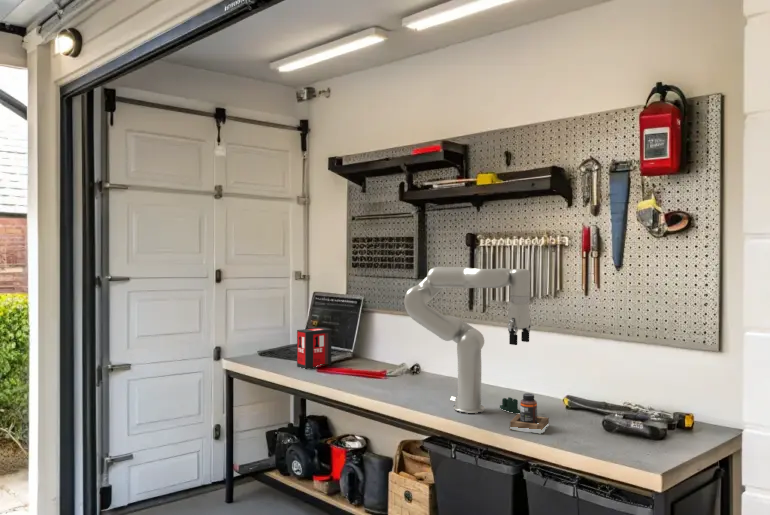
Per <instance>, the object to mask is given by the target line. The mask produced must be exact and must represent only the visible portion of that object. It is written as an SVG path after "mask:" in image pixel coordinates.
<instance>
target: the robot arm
mask: <svg viewBox="0 0 770 515" xmlns="http://www.w3.org/2000/svg"><path fill="white" fill-rule="evenodd" d="M530 285H531V273H530V270H529V269H527V268H513V269H511V268H506V267H499V268H498V267H497V268H472V267H469V266H435V267H432V268H430V269H429V270H428V271H427V275H426V277H424V279H423V280H422V281H420V283H418V284H417V285H415V286H411V287H410V288H408V290H407V291H406V293H405V294H404V295H405V296H404V300H403V301H404V308H405V311H406V313H407V314H408V316H409V317H410V318H411V319H412V320H413V321H415V322H416V323H417V324H418V325H420V326H422V327H424V328H425V329H426V330H427V331H429V332H431V333H432V334H433V335H435V336H437V337H438V338H440V339H441V340H442V341H445V342H450V341H452V342H454V343H455V344H456V352H457V353H456V355H457V396H454V395H452V396H451V397H450V399H449V400H450V401H449V402H450V403H454V406H453V410H454V409H455V410H457V411H462V412H468V413H475V414H479V413H478V412H481V413H484V412H485V411H486V406H484V405H482V349H483V347H484V346H485V337H484V334H482V332H480V331H479V330H478V329H476V328H475V327H473V326H472V325H470V324H469V323H468V322H465V321H464V320H462V319H460V318H459V317H456V316H454V315H447V316H446V315H444V314H442V313H441V312H439V311H437V310H436V309H434V308H433V307H431V306H429V305H428V304H427V303H429V302H430V301H432V299H433V298H434V297H435V296H437V295H438V294H439V293H440V292H441V291H442V290H443V289H444V288H446V289H448V288H449V289H450V288H452V289H453V288H456V289H457V288H458V289H473V288H474V289H475V288H476V289H502V288H504V287H509V286H510V288H509V289H510V292H509V293H510V294H509V295H510V296H509V297H510V298H509V301H510V302H509V306H508V307H509V308H508V317H507V318H508V319H507V331H508V335H509V336H508V337H509V345H511V346H517V345H518V331H519V330H522V331H521V338H520V339H521V340H520V341H521V342H523V343H529V342H530V331H531V324H532V320H531V319H530V318H531V312H530V303H531V302H530V299H531V298H530V297H531V296H530V295H531V294H530V290H531V287H530ZM455 410H454V411H455ZM457 411H456V412H457ZM483 411H484V412H483ZM468 413H467V414H468Z"/></svg>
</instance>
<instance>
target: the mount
mask: <svg viewBox="0 0 770 515" xmlns="http://www.w3.org/2000/svg"><path fill="white" fill-rule="evenodd" d="M501 402H502V403H501V404H499V409H500V408H501V409H503V410H506V411H509V412H513V413H520V414H521V409H519V408H518V405H519V404H518V403H519V402H518V399H516V398H513V397H510V396H509V397H508V398H505V397H503V398H502V400H501ZM501 409H500V410H501ZM503 410H502V411H503ZM506 411H505V412H506ZM513 413H512V414H513Z"/></svg>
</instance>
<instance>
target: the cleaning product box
mask: <svg viewBox="0 0 770 515" xmlns="http://www.w3.org/2000/svg"><path fill="white" fill-rule="evenodd" d="M320 364H329V365H331V366H332V329H331V328H326V327H314V328H306V329H297V330H296V367H297V368H300V367H301V369H303V368H305V369H304V370H308V369H307V368H312V369H314V368H313V367H316V366H317V365H320Z"/></svg>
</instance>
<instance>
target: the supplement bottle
mask: <svg viewBox="0 0 770 515" xmlns="http://www.w3.org/2000/svg"><path fill="white" fill-rule="evenodd" d="M537 403H538V402H537V400H536V399H535V394H534V393H529V392H526V393H522V399H521V400H520V414H521V422H527V423H535V424H537V416H538V404H537Z"/></svg>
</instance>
